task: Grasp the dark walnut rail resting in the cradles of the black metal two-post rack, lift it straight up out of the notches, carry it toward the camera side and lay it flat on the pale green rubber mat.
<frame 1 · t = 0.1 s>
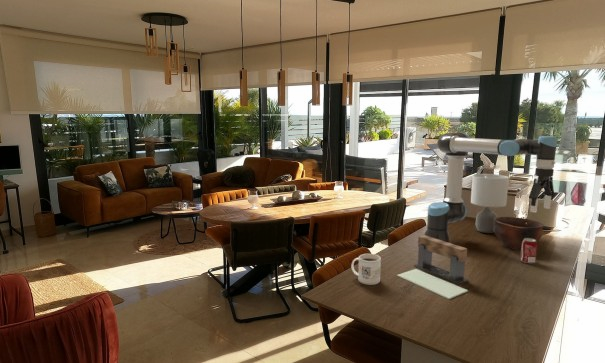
hand: (540, 210, 189), 28 cm above the counter, fingers open, 13 cm apart
mat: (430, 283, 171), on the counter
soda can: (527, 262, 196), on the counter
mug: (367, 279, 175), on the counter
lamp: (485, 231, 248), on the counter
rack: (439, 273, 182), on the counter
rail: (441, 253, 180), point 10 cm above the counter, touching rack
bowl: (515, 246, 220), on the counter
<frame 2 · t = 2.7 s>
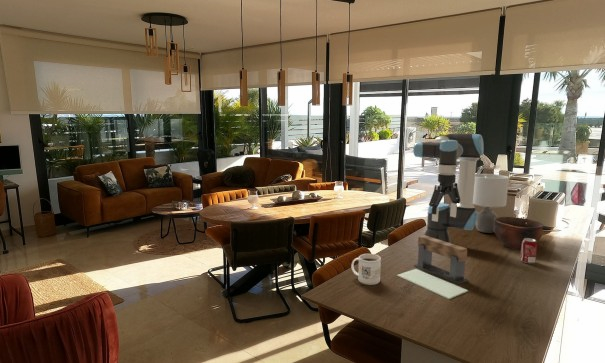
hand: (444, 218, 178), 27 cm above the counter, fingers open, 13 cm apart
nothing on the counter moved.
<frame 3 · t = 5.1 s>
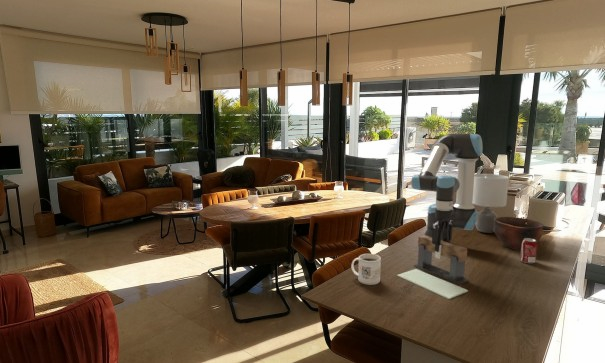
hand: (440, 256, 181), 8 cm above the counter, fingers closed on rail, 4 cm apart
rail: (441, 253, 180), point 10 cm above the counter, touching gripper, rack
everything else where it was.
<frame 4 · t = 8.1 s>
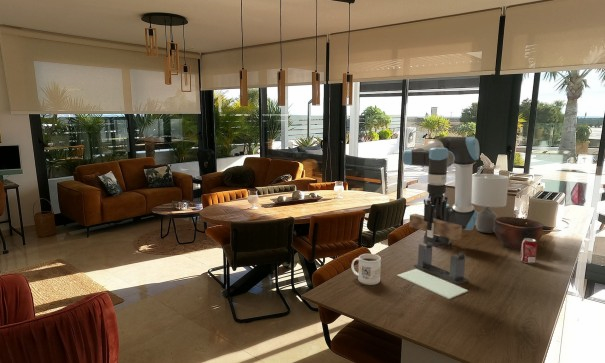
hand: (433, 236, 167), 22 cm above the counter, fingers closed on rail, 4 cm apart
rail: (433, 232, 167), point 24 cm above the counter, touching gripper
everything else where it was.
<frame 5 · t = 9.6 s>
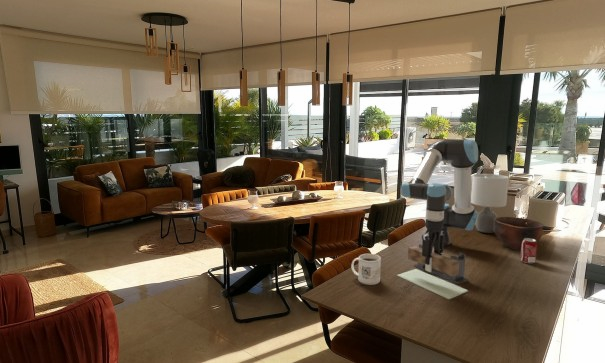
hand: (431, 269, 170), 6 cm above the counter, fingers closed on rail, 4 cm apart
rail: (431, 266, 170), point 8 cm above the counter, touching gripper
everything else where it was.
when the fingers open (1 cm above the counter, at t = 10.9 s): rail drops 2 cm, resting on mat.
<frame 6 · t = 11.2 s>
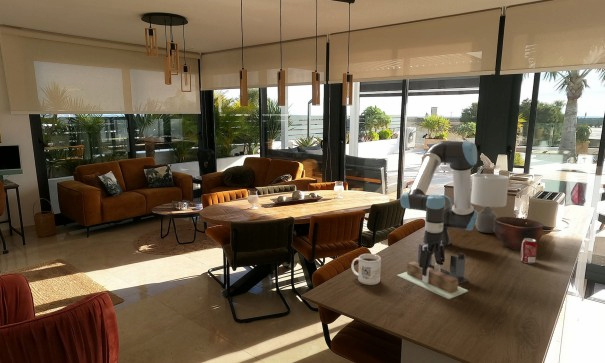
hand: (431, 279, 171), 2 cm above the counter, fingers open, 7 cm apart
rail: (431, 282, 171), point 1 cm above the counter, touching mat
everything else where it was.
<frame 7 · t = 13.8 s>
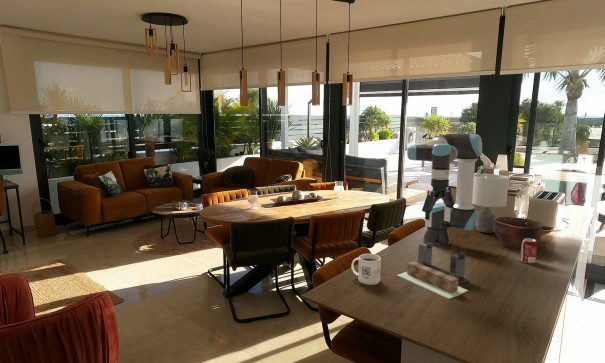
hand: (437, 223, 175), 25 cm above the counter, fingers open, 13 cm apart
nothing on the counter moved.
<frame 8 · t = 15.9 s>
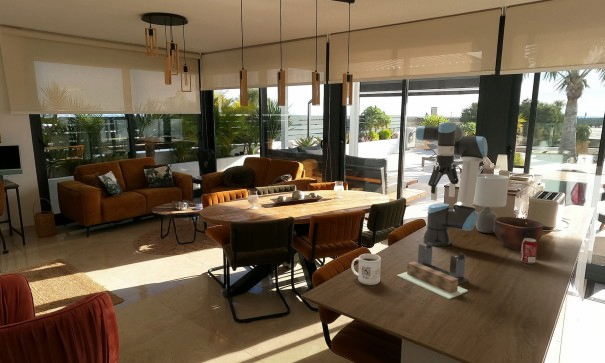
hand: (442, 198, 185), 35 cm above the counter, fingers open, 13 cm apart
nothing on the counter moved.
at the end: rail inside the target area on the mat (0.1 cm from its centre), point 0.6 cm above the mat's base; rail tilted 0°; the gripper is holding nothing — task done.
